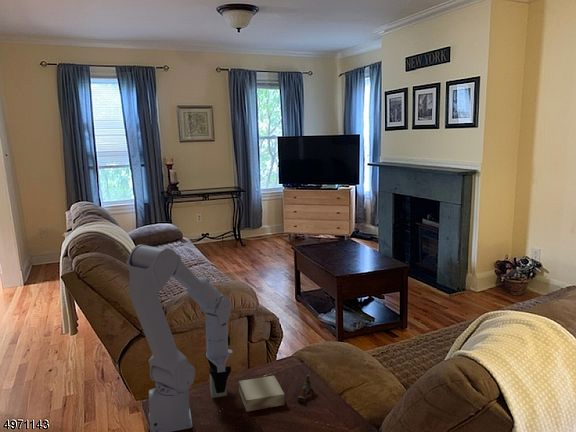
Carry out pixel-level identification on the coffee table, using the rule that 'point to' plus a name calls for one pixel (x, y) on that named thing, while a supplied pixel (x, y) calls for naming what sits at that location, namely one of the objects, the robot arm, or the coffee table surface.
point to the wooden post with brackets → (305, 389)
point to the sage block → (213, 390)
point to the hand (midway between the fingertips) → (218, 384)
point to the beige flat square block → (261, 393)
